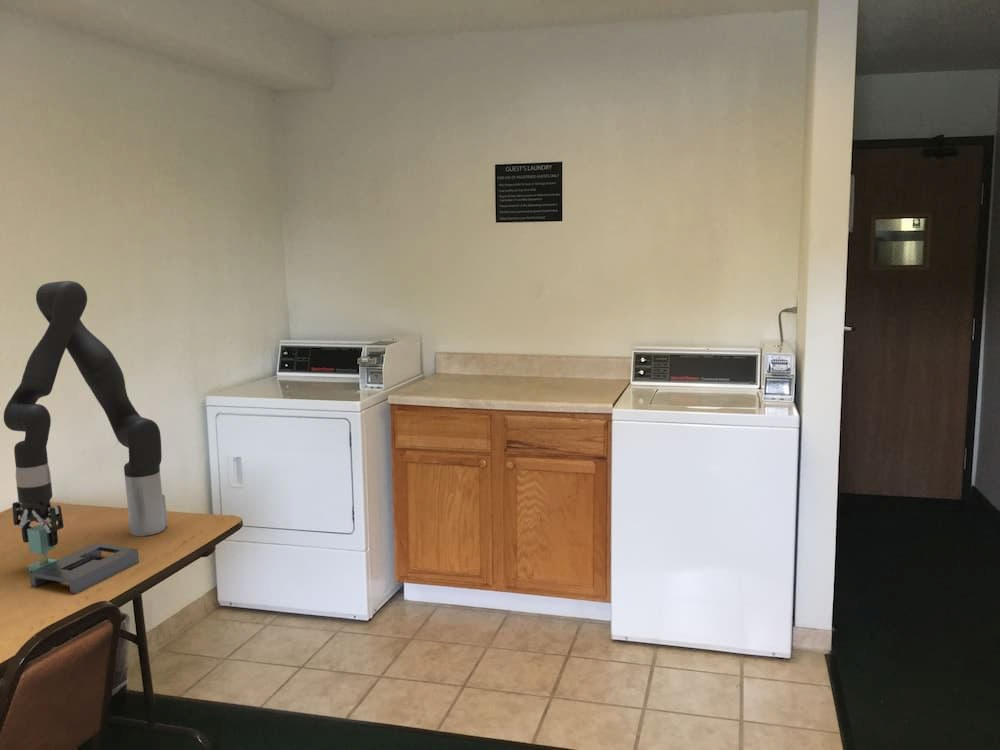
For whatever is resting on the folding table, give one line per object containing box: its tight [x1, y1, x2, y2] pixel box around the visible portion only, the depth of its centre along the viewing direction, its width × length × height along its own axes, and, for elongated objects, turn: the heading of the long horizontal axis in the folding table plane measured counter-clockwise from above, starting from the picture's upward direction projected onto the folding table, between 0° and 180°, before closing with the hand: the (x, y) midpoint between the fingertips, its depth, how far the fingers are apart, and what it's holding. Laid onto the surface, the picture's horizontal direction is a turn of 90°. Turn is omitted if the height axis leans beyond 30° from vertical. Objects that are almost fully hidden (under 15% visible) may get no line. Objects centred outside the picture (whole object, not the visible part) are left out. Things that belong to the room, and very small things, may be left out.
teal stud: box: [27, 523, 57, 572], centre depth 208 cm, size 5×5×11 cm
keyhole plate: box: [29, 542, 140, 595], centre depth 205 cm, size 20×14×4 cm
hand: (40, 543), depth 208 cm, fingers open, 8 cm apart
